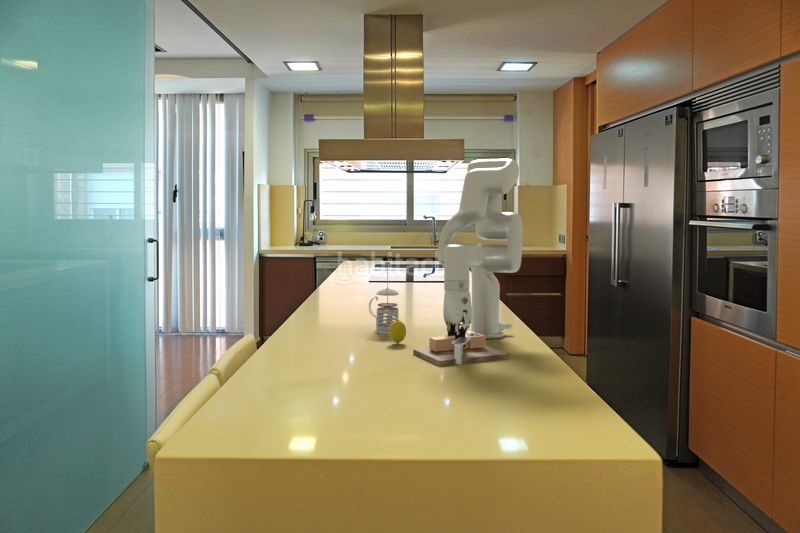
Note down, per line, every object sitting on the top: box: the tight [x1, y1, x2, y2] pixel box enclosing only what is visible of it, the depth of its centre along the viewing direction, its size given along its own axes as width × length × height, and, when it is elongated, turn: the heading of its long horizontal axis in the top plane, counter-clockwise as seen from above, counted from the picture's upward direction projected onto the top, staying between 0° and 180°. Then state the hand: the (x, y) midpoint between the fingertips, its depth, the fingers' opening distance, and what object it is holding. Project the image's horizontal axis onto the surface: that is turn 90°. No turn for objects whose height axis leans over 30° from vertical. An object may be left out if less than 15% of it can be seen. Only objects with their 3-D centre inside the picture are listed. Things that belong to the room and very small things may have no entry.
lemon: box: [388, 318, 407, 345], centre depth 222 cm, size 6×6×8 cm
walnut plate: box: [412, 345, 510, 367], centre depth 204 cm, size 23×17×2 cm
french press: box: [368, 261, 400, 335], centre depth 243 cm, size 10×12×25 cm
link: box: [428, 333, 487, 352], centre depth 207 cm, size 17×5×4 cm, turn 114°
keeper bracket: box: [452, 337, 471, 366], centre depth 197 cm, size 8×4×6 cm, turn 159°
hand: (456, 345), depth 207 cm, fingers closed on link, 4 cm apart
